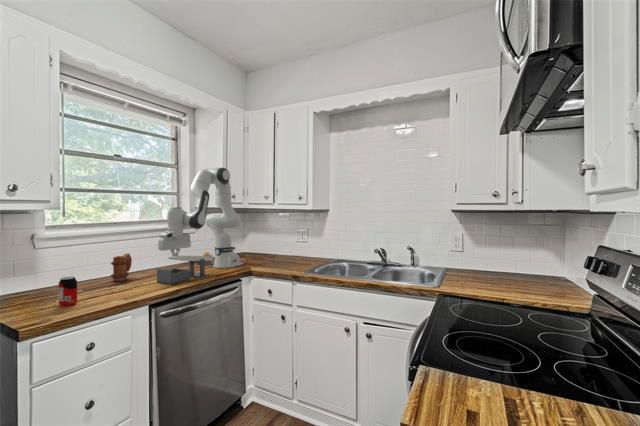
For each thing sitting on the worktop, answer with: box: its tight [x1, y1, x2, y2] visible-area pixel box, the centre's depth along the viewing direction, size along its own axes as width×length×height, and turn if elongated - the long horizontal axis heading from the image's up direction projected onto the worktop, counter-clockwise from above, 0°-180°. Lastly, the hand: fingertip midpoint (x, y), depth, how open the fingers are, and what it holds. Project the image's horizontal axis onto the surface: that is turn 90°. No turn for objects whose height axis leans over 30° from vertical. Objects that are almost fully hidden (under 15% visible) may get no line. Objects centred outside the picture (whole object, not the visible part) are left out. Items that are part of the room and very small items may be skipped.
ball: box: [202, 252, 211, 257], centre depth 202 cm, size 4×4×4 cm
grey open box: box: [156, 267, 191, 286], centre depth 182 cm, size 13×13×8 cm
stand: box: [188, 259, 211, 279], centre depth 196 cm, size 8×14×11 cm, turn 60°
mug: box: [110, 253, 133, 282], centre depth 187 cm, size 15×8×15 cm, turn 179°
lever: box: [168, 254, 215, 266], centre depth 197 cm, size 22×16×6 cm
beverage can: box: [58, 276, 78, 307], centre depth 138 cm, size 6×6×12 cm
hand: (175, 256), depth 191 cm, fingers closed
